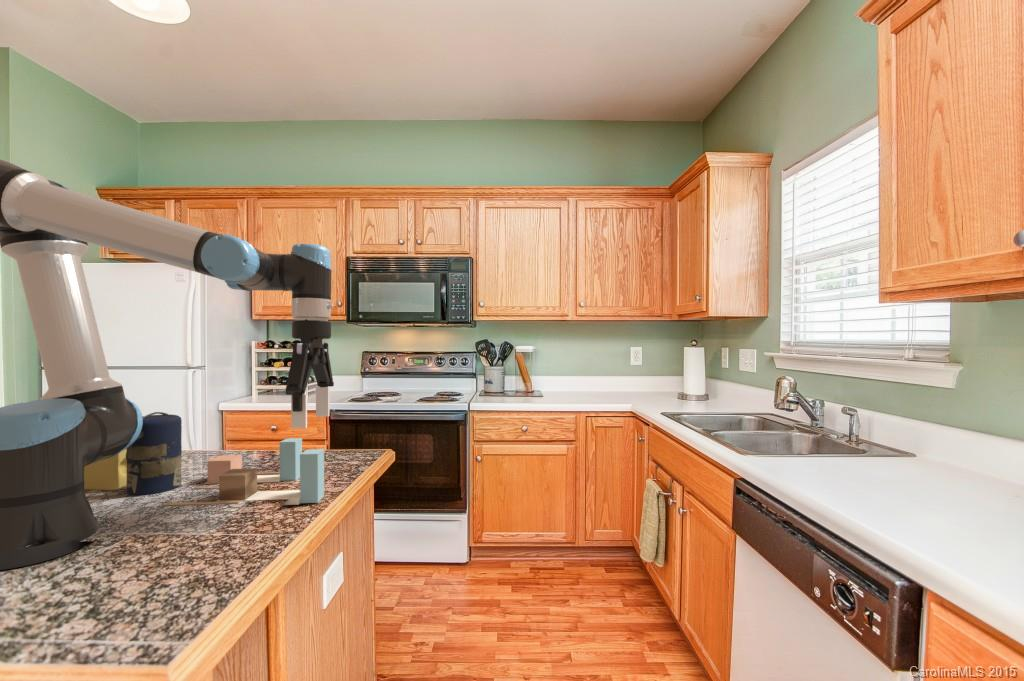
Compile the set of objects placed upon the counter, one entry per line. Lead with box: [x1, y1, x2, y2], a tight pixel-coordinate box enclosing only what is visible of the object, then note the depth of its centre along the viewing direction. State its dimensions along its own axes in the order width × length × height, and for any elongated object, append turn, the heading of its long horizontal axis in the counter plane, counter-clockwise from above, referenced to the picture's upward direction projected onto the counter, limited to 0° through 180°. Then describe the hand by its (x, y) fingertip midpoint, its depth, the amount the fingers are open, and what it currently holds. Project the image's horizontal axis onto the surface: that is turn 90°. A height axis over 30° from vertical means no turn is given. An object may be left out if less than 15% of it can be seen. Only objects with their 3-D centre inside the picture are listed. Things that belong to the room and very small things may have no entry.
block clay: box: [206, 454, 243, 483], centre depth 106 cm, size 5×5×5 cm
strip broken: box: [204, 437, 303, 485], centre depth 106 cm, size 6×20×10 cm, turn 94°
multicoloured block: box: [216, 448, 325, 506], centre depth 95 cm, size 6×20×10 cm, turn 94°
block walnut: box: [218, 467, 258, 501], centre depth 94 cm, size 5×5×5 cm
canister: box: [126, 411, 183, 497], centre depth 100 cm, size 10×10×18 cm
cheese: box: [84, 448, 127, 491], centre depth 108 cm, size 10×11×10 cm
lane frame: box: [162, 471, 280, 507], centre depth 100 cm, size 21×14×2 cm, turn 4°
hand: (311, 422), depth 96 cm, fingers open, 13 cm apart
